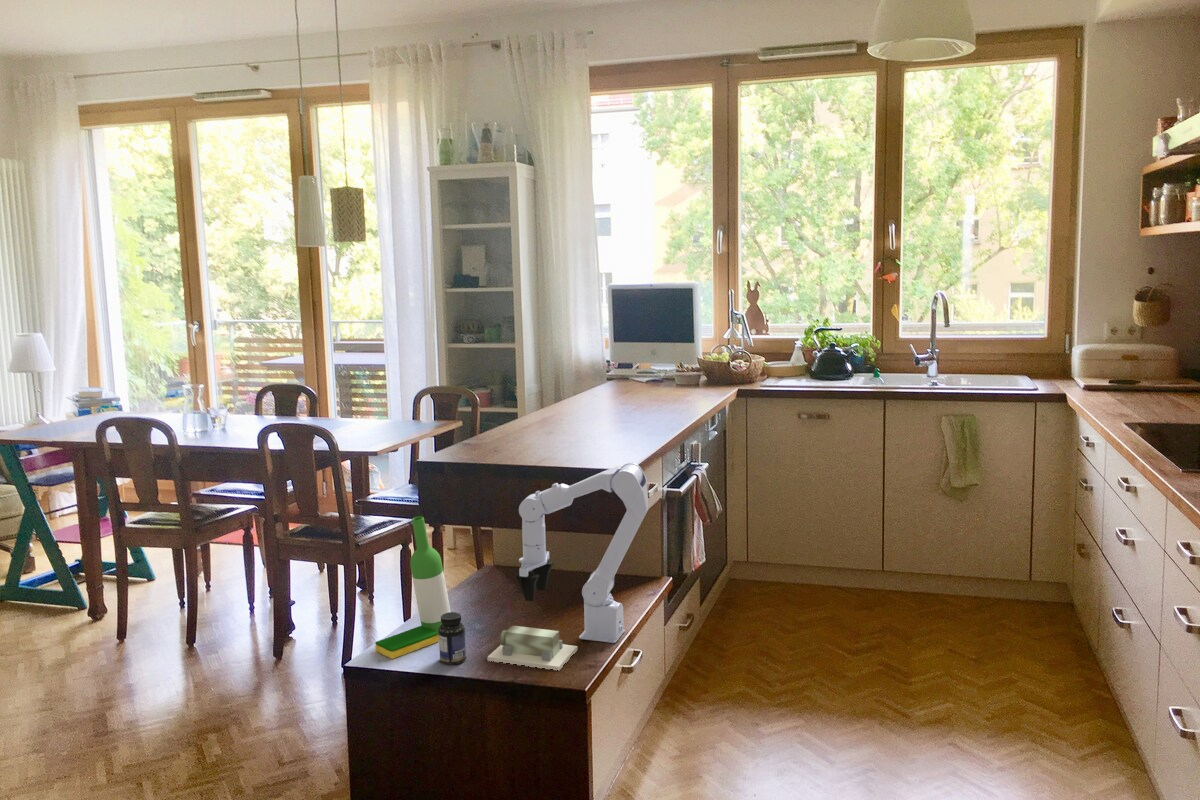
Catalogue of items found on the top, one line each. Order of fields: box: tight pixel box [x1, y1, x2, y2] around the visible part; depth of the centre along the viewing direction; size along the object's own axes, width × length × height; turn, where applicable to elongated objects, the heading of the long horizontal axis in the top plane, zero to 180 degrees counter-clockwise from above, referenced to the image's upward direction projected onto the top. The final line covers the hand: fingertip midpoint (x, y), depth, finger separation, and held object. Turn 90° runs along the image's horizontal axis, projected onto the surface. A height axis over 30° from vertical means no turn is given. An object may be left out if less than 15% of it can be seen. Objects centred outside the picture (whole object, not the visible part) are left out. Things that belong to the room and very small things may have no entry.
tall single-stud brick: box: [499, 625, 560, 658], centre depth 231 cm, size 14×4×5 cm, turn 71°
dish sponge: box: [374, 625, 439, 660], centre depth 238 cm, size 7×14×2 cm, turn 136°
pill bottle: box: [438, 611, 467, 666], centre depth 229 cm, size 6×6×11 cm
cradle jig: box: [486, 639, 578, 672], centre depth 231 cm, size 18×12×3 cm, turn 71°
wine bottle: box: [409, 515, 452, 635], centre depth 243 cm, size 8×8×30 cm
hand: (535, 595), depth 245 cm, fingers open, 7 cm apart
